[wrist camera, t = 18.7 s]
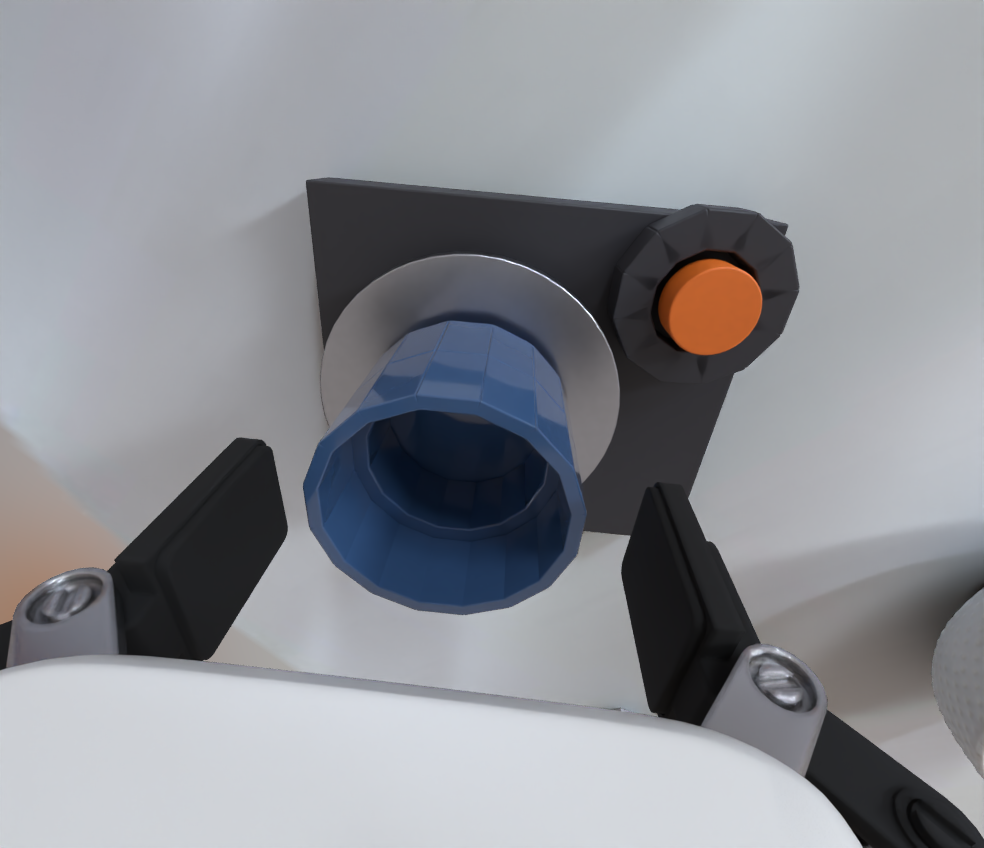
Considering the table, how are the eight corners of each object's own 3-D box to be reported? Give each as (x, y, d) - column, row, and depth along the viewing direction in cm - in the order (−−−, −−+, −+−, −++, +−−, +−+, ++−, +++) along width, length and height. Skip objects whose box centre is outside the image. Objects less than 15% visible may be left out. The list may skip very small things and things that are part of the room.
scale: (775, 207, 17) (830, 219, 14) (668, 512, 24) (689, 563, 21) (326, 166, 17) (284, 168, 14) (353, 480, 24) (329, 527, 21)
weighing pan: (651, 267, 15) (654, 270, 14) (588, 527, 20) (589, 535, 20) (307, 235, 15) (301, 238, 15) (337, 502, 20) (333, 509, 20)
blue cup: (582, 326, 15) (611, 413, 10) (550, 497, 19) (561, 626, 14) (365, 305, 15) (285, 381, 10) (375, 480, 19) (319, 601, 14)
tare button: (757, 262, 15) (777, 271, 14) (728, 345, 16) (744, 360, 15) (670, 254, 15) (682, 262, 14) (648, 337, 16) (658, 351, 15)
